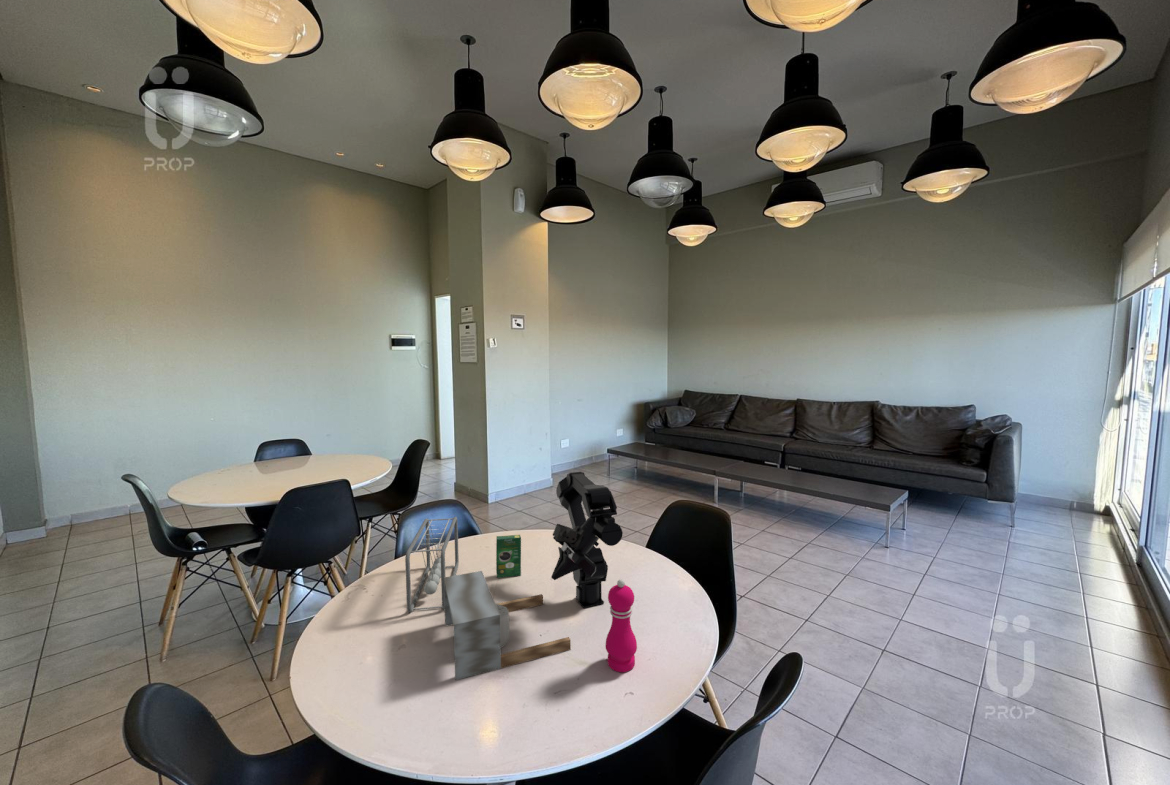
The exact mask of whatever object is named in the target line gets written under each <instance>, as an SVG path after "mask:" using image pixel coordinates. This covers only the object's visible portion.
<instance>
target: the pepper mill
mask: <svg viewBox="0 0 1170 785" xmlns="http://www.w3.org/2000/svg"><path fill="white" fill-rule="evenodd" d="M607 601H608V603H609V605H610V606H609V609H610V610H609V612H610V615H611V618H612V619H611V626H610V628H609V631H608V633H607V635H606V639H605V650H606V652H607V653H608V654H607V665H608V667H609V668H610V669H611V670H613V671H614V672H617V673H628V672H630V671H631V670H633V669H634V667H635V665H636V662H635V661H636V658H635V654H636V652H637V651H638V650H637V649H638V644H637V638H636V636H635V633H634V631H633V629H632V625H631V616H632V614H633V607H632V606H634V602H635V593H634V592H633V589H632V588H631V587H630V586H628V585H626V582H625V580H624V579H621V578H619V579H618V580H617V582H616V584H615V585H613V586H611V588H610V589H609V591H608V593H607Z"/></svg>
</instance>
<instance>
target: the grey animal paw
mask: <svg viewBox="0 0 1170 785" xmlns="http://www.w3.org/2000/svg"><path fill="white" fill-rule="evenodd" d="M495 604H496V607H497V609H498V612H499V614H500V649H502V648H503V647H505V645H506V644H507V643H508V642H509V640H510V618H509V616H510V614H509V613H510V612H509V611H508V609H507V608H506V607H504V606H502V605H499V604H498V603H495Z"/></svg>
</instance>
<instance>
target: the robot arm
mask: <svg viewBox="0 0 1170 785" xmlns="http://www.w3.org/2000/svg"><path fill="white" fill-rule="evenodd" d="M555 489H556V496H557V498H558V500H559V504H560V505H561V506H562V507H563V508H564V509H565V510H566V511H567V513H568V516H569V520H570V521H569V522H570V525H571V527H570V526H566V525H563V524H560V523H556V526H555V528H554V530H553V532H552V536H553V537H552V538H553V540H555V542H556V543H558V544H559V545H561V547H560V546H558V553H559V557H558V559H557V563H556V565H555V567H554V570H553V572H552V575H551V578H552V580H554V581H556V580H558V579H560V578H562V577H564V576H566V575H569V574H571V573H572V576H573V577H572V578H573V580H574V582H575V584H576V586H575V599H576V600H577V602H578V604H580V605H581V607H582V608H583V609H587V608H591V607H595V606H600V605H603V604H605V601H604V600H603V598H602V582H606V581H607V575H608V570H609V566H608V564H607V561H606V559H605V558H604V554H603V551H602V548H600V547H598V546H599V544H600V543H599V542H598V541H599V540H600V541H602V542H603V543H604V545H606V546H608V547H609V546H611V547H613V546H615V545H617V544H619V543H620V541H621V540H622V538H623V535H624V534H623V533H624V532H623V528H622V527H621V526H620V524H618V523H617V522H616V518H615V517H614V516H617V515H618V512H617V509H618V507H617V504H616V502H615V498H614V496H613V493H612V491H611V490H610V489H609V487H607V486H605V485H601V484H596V483H594V482H593V481H592V480H590V479H589V478H588V477H587V475H585V473H584V472H583V471H573V472H572V471H571V472H569V473H567V474H566V477H564V478H563V479H560V480H559V482H558V484H557V486H556V488H555ZM584 510H585V512H584ZM585 513H586V515H587V517H588V518H587V519H586V515H585Z"/></svg>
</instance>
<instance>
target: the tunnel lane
mask: <svg viewBox="0 0 1170 785" xmlns="http://www.w3.org/2000/svg"><path fill="white" fill-rule="evenodd" d="M444 603H445V610H444V625H448V626H452V627H453V646H454V648H453V649H454V651H453V653H454V654H453V655H454V657H453V658H454V678H455V681H458V680H462V679H465V678H469V677H473V676H476V675H477V676H478V675H480V674H484V673H487V672H488V673H489V672H491V671H492V672H493V671H496V670H501V669H503V668H506V667H511V666H513V665H515V666H516V665H518V664H521V663H526V662H529V661H533V660H537V659H541V658H544V657H548V656H551V655H556V654H560V653H563V652H567V651H570V650H571V648H572V647H571V646H572V645H571V644H572V643H571V638H570V636H567V637H562V638H559V639H555V640H552V641H548V642H544V643H540V644H536V645H532V646H528V647H524V648H519V649H516V650H513V651H509V652H508V651H507V652H505V653H501V649H502V648H500V614H499V612H498V609H497V607H496V604H499V605H502V606H504V607H506V608H507V609H508V611H509V613H510V612H516V611H520V610H524V609H528V608H529V609H530V608H532V607H533V608H535V607H538V606H542V605H544V595H543V594H542V593H541V594H535V595H532V596H528V597H527V596H526V597H523V598H522V597H521V598H517V599H512V600H508V601H503V602H499V603H495V600H494V597H493V594H492V593H491V589H490V588H489V585H488V583H487V579H486V578H485V574H484V573H483V570H478V571H472V572H468V573H467V572H466V573H462V574H456V576H452V575H451V576H445V578H444ZM451 624H453V625H451Z"/></svg>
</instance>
